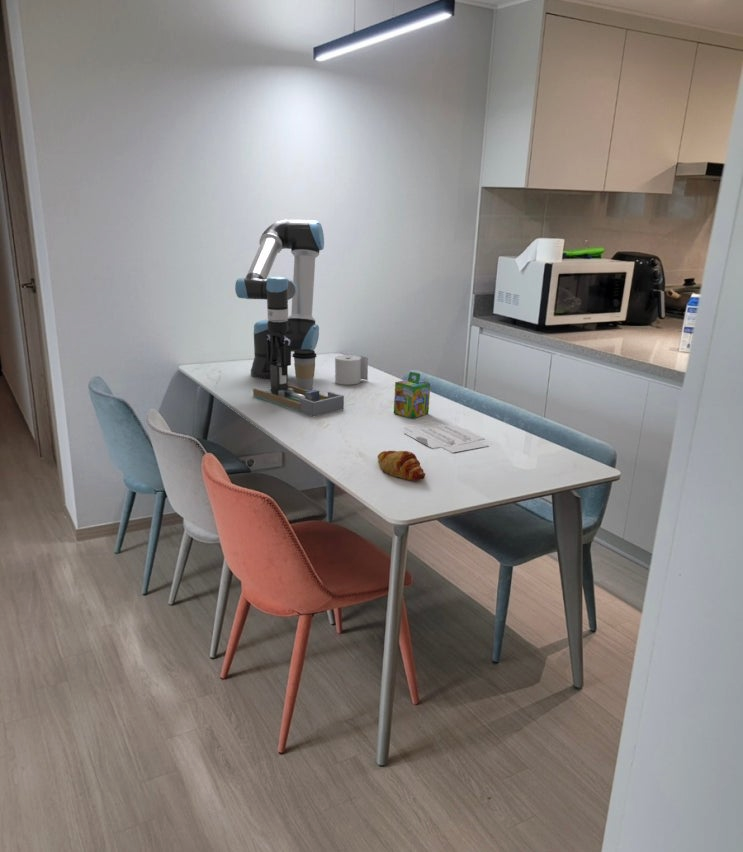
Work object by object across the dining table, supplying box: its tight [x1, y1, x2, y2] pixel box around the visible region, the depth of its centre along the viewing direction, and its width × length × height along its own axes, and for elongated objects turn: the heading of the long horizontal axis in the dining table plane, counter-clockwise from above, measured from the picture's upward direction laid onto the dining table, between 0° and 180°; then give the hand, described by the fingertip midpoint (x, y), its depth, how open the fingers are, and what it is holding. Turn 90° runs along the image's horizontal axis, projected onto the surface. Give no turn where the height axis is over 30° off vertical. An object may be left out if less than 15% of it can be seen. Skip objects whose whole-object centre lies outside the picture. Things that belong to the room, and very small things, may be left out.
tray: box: [403, 420, 489, 454], centre depth 227 cm, size 20×28×4 cm
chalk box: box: [393, 371, 431, 420], centre depth 248 cm, size 9×9×15 cm
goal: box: [299, 391, 345, 417], centre depth 251 cm, size 14×8×5 cm, turn 135°
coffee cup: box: [291, 349, 317, 391], centre depth 278 cm, size 9×9×15 cm
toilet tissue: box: [334, 354, 369, 386], centre depth 291 cm, size 11×12×10 cm
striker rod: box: [270, 363, 320, 402], centre depth 260 cm, size 5×22×11 cm, turn 45°
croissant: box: [377, 450, 426, 482], centre depth 197 cm, size 21×10×8 cm, turn 34°
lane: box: [252, 383, 328, 413], centre depth 263 cm, size 14×28×4 cm, turn 45°
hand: (279, 382), depth 267 cm, fingers closed on striker rod, 4 cm apart
